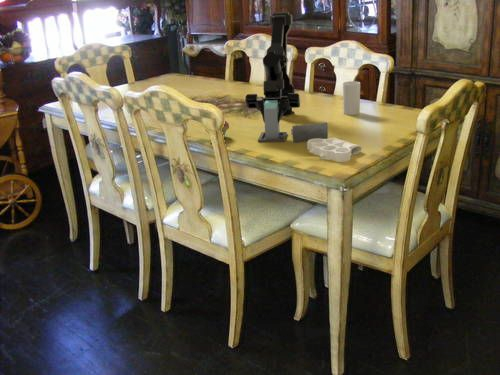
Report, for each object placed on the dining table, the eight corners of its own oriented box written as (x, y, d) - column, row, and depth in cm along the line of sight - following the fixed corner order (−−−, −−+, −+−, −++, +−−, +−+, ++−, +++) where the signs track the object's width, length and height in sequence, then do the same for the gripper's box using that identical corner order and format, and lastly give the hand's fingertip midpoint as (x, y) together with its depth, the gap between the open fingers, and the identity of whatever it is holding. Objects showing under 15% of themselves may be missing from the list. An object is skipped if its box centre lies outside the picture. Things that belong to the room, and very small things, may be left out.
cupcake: (206, 136, 219) (203, 104, 215) (229, 134, 220) (226, 102, 215) (206, 143, 211) (203, 109, 207) (230, 141, 212) (228, 107, 207)
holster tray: (261, 135, 216) (261, 132, 216) (286, 135, 215) (286, 131, 214) (258, 143, 208) (258, 139, 207) (284, 142, 206) (283, 139, 206)
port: (286, 135, 214) (285, 119, 212) (319, 131, 216) (318, 115, 214) (293, 143, 205) (293, 126, 202) (327, 140, 206) (327, 123, 204)
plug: (267, 136, 213) (265, 100, 209) (279, 136, 213) (278, 99, 208) (265, 140, 209) (263, 103, 205) (278, 139, 209) (276, 103, 204)
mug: (363, 114, 234) (363, 83, 230) (347, 116, 232) (347, 85, 228) (351, 108, 243) (351, 79, 239) (336, 110, 241) (336, 81, 237)
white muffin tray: (368, 156, 190) (332, 166, 183) (331, 143, 204) (297, 152, 197) (368, 145, 189) (332, 156, 182) (331, 133, 203) (296, 142, 196)
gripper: (244, 71, 208) (240, 110, 202) (298, 69, 204) (296, 109, 199) (249, 88, 218) (246, 126, 212) (301, 87, 215) (299, 126, 209)
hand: (271, 122), depth 207 cm, fingers closed on plug, 4 cm apart
